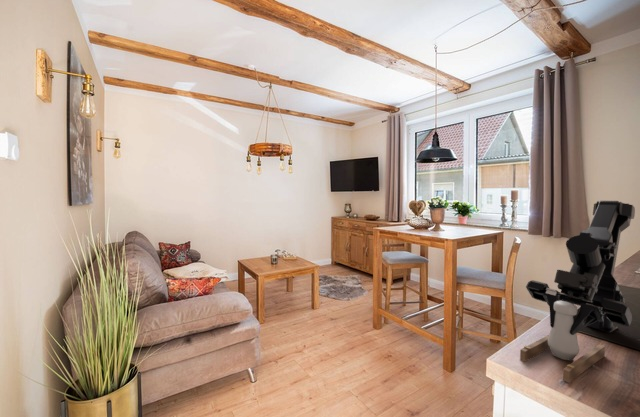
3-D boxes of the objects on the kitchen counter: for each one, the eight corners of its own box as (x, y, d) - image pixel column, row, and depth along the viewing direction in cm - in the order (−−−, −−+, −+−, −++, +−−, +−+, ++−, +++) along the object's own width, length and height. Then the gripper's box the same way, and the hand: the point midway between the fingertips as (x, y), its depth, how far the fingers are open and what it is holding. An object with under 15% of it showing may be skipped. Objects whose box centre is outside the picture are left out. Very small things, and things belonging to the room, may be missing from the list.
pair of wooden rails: (558, 338, 76) (558, 328, 76) (604, 356, 68) (605, 345, 68) (520, 359, 67) (520, 348, 66) (568, 382, 59) (569, 370, 58)
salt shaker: (585, 364, 64) (588, 309, 63) (556, 361, 65) (559, 307, 64) (568, 349, 70) (571, 299, 69) (542, 347, 71) (544, 297, 70)
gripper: (531, 250, 76) (506, 298, 71) (631, 267, 59) (608, 330, 55) (543, 274, 80) (521, 320, 76) (640, 296, 64) (619, 357, 59)
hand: (561, 330), depth 66 cm, fingers closed on salt shaker, 3 cm apart
